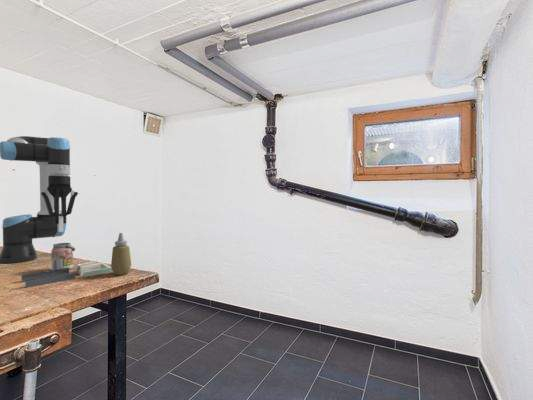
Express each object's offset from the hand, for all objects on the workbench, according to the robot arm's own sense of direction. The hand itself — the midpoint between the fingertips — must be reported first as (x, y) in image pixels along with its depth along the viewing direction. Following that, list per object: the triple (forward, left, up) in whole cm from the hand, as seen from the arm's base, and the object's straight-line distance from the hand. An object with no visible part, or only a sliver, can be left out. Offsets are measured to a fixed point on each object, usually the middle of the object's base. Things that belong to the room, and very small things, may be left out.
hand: (60, 231), depth 122 cm
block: (0, +10, -20) cm, 22 cm away
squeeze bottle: (+13, +19, -20) cm, 30 cm away
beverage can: (-13, +3, -20) cm, 24 cm away
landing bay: (+1, +11, -19) cm, 23 cm away
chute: (+1, -5, -19) cm, 20 cm away
